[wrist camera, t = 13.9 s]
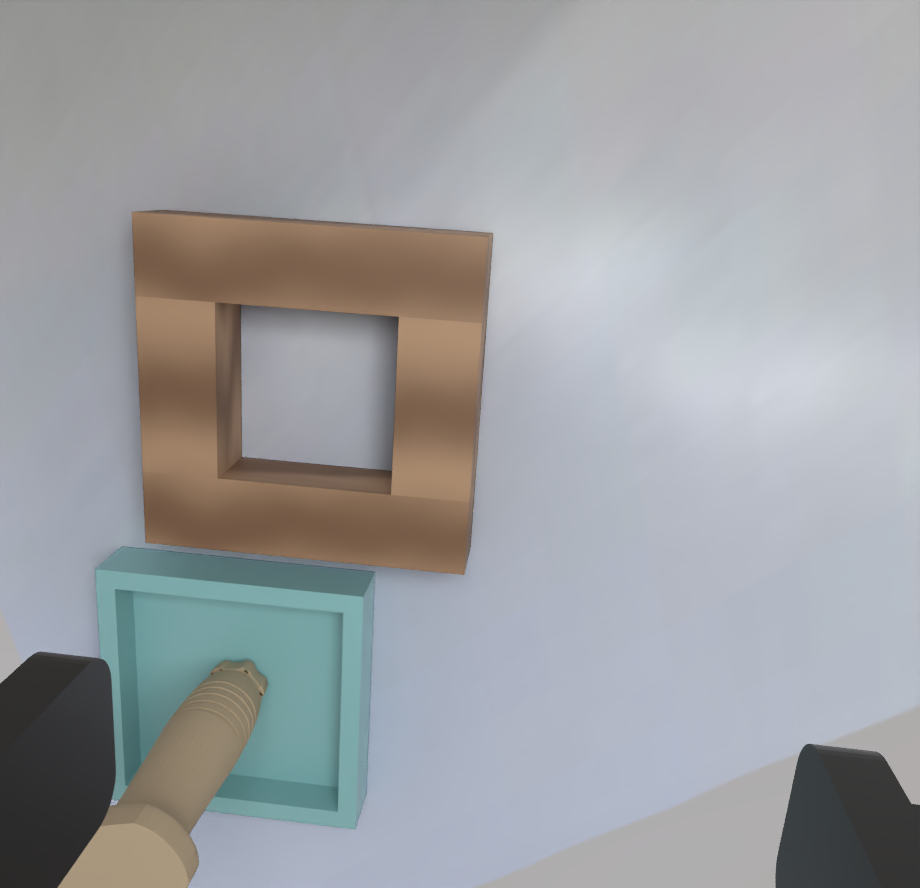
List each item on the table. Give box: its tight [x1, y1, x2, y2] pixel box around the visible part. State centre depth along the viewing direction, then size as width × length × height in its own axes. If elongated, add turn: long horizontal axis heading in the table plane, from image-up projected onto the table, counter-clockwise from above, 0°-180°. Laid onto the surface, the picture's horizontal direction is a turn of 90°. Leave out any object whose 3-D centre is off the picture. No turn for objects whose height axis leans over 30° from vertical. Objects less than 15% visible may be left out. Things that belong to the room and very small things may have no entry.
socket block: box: [132, 210, 493, 575], centre depth 43 cm, size 16×16×4 cm
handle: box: [58, 660, 268, 888], centre depth 41 cm, size 5×6×15 cm
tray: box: [95, 547, 375, 829], centre depth 48 cm, size 14×14×3 cm
